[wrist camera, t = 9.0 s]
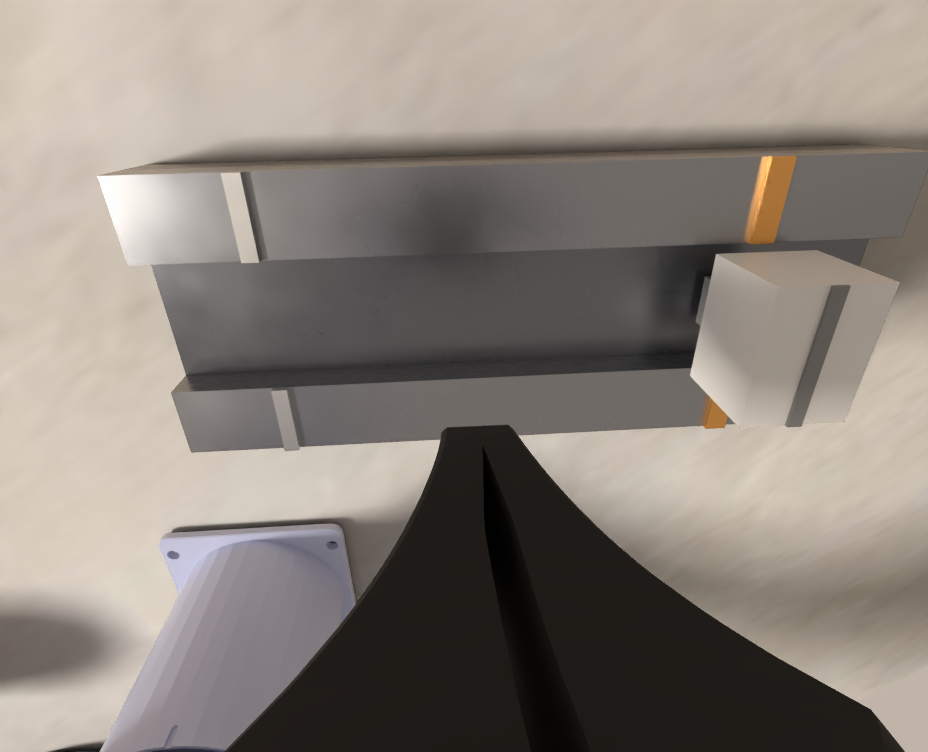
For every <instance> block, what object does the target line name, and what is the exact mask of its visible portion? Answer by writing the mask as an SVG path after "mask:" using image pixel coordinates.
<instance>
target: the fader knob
mask: <svg viewBox="0 0 928 752" xmlns="http://www.w3.org/2000/svg"><path fill="white" fill-rule="evenodd" d="M899 284H900V282H898V281H895V280H893V279H890V278H888V277H885V276H882V275H880V274H877V273H875V272H872V271H869V270H867V269H864V268H862V267H859V266H857V265H854V264H851V263H849V262H846V261H844V260H841V259H838V258H836V257H833V256H831V255H828V254H826V253H823V252H820V251H818V250H806V251H779V252H753V253H726V254H716V257H715V262H714V266H713V271H712V275H711V276H705V279H704V284H703V289H702V294H701V298H700V303H699V308H698V313H697V317H696V323H698V324H699V325H700V331H699V336H698V340H697V345H696V350H695V354H694V359H693V364H692V368H691V373H690V376H691V377H692V379H693V380H694V381H695V382H696V383H697V384H698V385H699V386H700V387H701V388H702V389H703V390H704V391H705V392H706V393H707V394H708V395H709V396H710V398H711V399H712V400H713V401H714V402H715V403H716V404H717V405H718V406H719V407H720V408H721V409H722V410H723V411H724V412H725V413H726V414H727V415H728V417H729V418H730V419H731V420H732V421H733V422H734V423H735V424H736V425H737V426H738V427H739V428H741V427H760V426H778V425H785V426H786V427H800V426H802V424H816V423H835V422H845V420H846V417H847V415H848V412H849V410H850V407H851V405H852V402H853V400H854V397H855V395H856V392H857V390H858V387H859V384H860V382H861V379H862V377H863V374H864V372H865V369H866V367H867V364H868V362H869V359H870V357H871V354H872V352H873V349H874V347H875V344H876V342H877V339H878V337H879V334H880V332H881V329H882V327H883V324H884V322H885V319H886V317H887V314H888V312H889V309H890V307H891V304H892V302H893V299H894V297H895V294H896V292H897V289H898V287H899Z"/></svg>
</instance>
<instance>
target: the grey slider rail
mask: <svg viewBox="0 0 928 752" xmlns="http://www.w3.org/2000/svg"><path fill="white" fill-rule="evenodd" d="M927 171H928V151H925V150H916V149H906V148H896V147H886V146H876V145H867V144H853V145H818V146H783V147H747V148H712V149H677V150H641V151H606V152H571V153H535V154H500V155H465V156H429V157H394V158H359V159H323V160H288V161H253V162H217V163H182V164H147V165H143V166H138V167H134V168H129V169H125V170H121V171H116V172H112V173H108V174H103V175H99V176H97V177H98V180H99V182H100V185H101V188H102V191H103V194H104V197H105V200H106V203H107V206H108V209H109V212H110V215H111V218H112V221H113V224H114V227H115V230H116V232H117V235H118V238H119V241H120V244H121V247H122V250H123V253H124V256H125V259H126V262H127V265H128V266H130V265H152V269H153V272H154V275H155V278H156V281H157V284H158V287H159V291H160V294H161V297H162V300H163V303H164V306H165V310H166V313H167V316H168V319H169V322H170V325H171V328H172V332H173V335H174V338H175V341H176V344H177V347H178V351H179V354H180V357H181V360H182V363H183V366H184V369H185V373H186V376H185V377H184V378H183V380H182V381H181V382H180V383H179V384H178V385H177V386H176V388H175V389H174V390H173V391H172V392H171V394H172V397H173V400H174V403H175V406H176V409H177V412H178V415H179V418H180V421H181V424H182V427H183V430H184V433H185V436H186V438H187V441H188V444H189V447H190V450H191V453H192V452H211V451H230V450H249V449H268V448H284V449H285V451H294V450H300V447H306V446H325V445H344V444H363V443H382V442H401V441H420V440H439V439H441V432H442V431H443V430H444V429H445V428H447V427H465V426H487V425H509V426H511V427H512V428H513V429H514V431H515V432H516V434H517V435H534V434H553V433H572V432H591V431H610V430H629V429H648V428H667V427H686V426H704V427H705V429H710V428H725V425H726V424H735V423H734V422H733V421H732V420H731V419H730V418H729V417H728V415H727V414H726V413H725V412H724V411H723V410H722V409H721V408H720V407H719V406H718V405H717V404H716V403H715V402H714V401H713V400H712V399H711V398H710V396H709V395H708V394H707V393H706V392H705V391H704V390H703V389H702V388H701V387H700V386H699V385H698V384H697V383H696V382H695V381H694V380H693V379H692V377H691V376H690V373H691V368H692V364H693V359H694V354H695V350H696V345H697V340H698V336H699V331H700V325H699V324H698V323H696V317H697V313H698V308H699V303H700V298H701V294H702V289H703V284H704V279H705V276H711V275H712V271H713V266H714V262H715V257H716V254H726V253H753V252H779V251H806V250H818V251H820V252H823V253H826V254H828V255H831V256H833V257H836V258H838V259H841V260H844V261H846V262H849V263H851V264H854V265H857V266H859V264H860V262H861V259H862V256H863V253H864V250H865V248H866V245H867V242H868V239H869V238H893V237H902V236H903V234H904V231H905V229H906V226H907V223H908V221H909V218H910V216H911V213H912V210H913V208H914V205H915V203H916V200H917V197H918V195H919V192H920V190H921V187H922V184H923V182H924V179H925V177H926V174H927Z"/></svg>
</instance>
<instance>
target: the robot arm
mask: <svg viewBox="0 0 928 752" xmlns="http://www.w3.org/2000/svg"><path fill="white" fill-rule="evenodd" d="M330 541H334V542H336V543H331V542H330ZM159 548H160V551H161V553H162V555H163V558H164V560H165V563H166V565H167V567H168V570H169V572H170V574H171V577H172V579H173V581H174V584H175V586H176V589H177V591H178V593H179V595H178V597H177V599H176V601H175V603H174V605H173V607H172V609H171V611H170V613H169V615H168V617H167V619H166V621H165V623H164V625H163V627H162V629H161V631H160V633H159V635H158V637H157V639H156V641H155V643H154V645H153V647H152V649H151V651H150V653H149V655H148V657H147V659H146V661H145V663H144V665H143V667H142V669H141V671H140V673H139V675H138V677H137V679H136V681H135V683H134V685H133V687H132V689H131V691H130V693H129V695H128V697H127V698H126V700H125V702H124V704H123V706H122V708H121V710H120V712H119V714H118V716H117V718H116V720H115V722H114V724H113V726H112V728H111V730H110V732H109V734H108V736H107V738H106V740H105V742H104V744H103V746H102V748H101V750H100V752H904V750H903V749H902V747H901V746H900V745H899V744H898V742H897V741H896V740H895V739H894V737H893V736H892V735H891V734H890V733H889V731H888V730H887V729H886V728H885V726H884V725H883V724H882V723H881V722H880V720H879V719H878V718H877V717H876V716H875V714H874V713H873V712H872V710H871V709H869V708H867V707H865V706H863V705H862V704H860V703H858V702H856V701H854V700H853V699H851V698H849V697H847V696H845V695H844V694H842V693H840V692H838V691H836V690H835V689H833V688H831V687H829V686H827V685H825V684H824V683H822V682H820V681H818V680H816V679H815V678H813V677H811V676H809V675H807V674H806V673H804V672H802V671H800V670H798V669H797V668H795V667H793V666H791V665H789V664H788V663H786V662H784V661H782V660H780V659H779V658H777V657H775V656H774V655H772V654H770V653H768V652H767V651H765V650H764V649H762V648H760V647H759V646H757V645H756V644H754V643H752V642H751V641H749V640H748V639H746V638H744V637H743V636H741V635H740V634H738V633H736V632H735V631H733V630H732V629H730V628H728V627H727V626H725V625H724V624H722V623H721V622H719V621H718V620H716V619H715V618H713V617H712V616H710V615H709V614H707V613H706V612H704V611H703V610H701V609H700V608H698V607H697V606H695V605H694V604H693V603H691V602H690V601H689V600H687V599H686V598H684V597H683V596H682V595H680V594H679V593H677V592H676V591H675V590H673V589H672V588H670V587H669V586H668V585H666V584H665V583H664V582H662V581H661V580H659V579H658V578H657V577H655V576H654V575H653V574H651V573H650V572H649V571H648V570H646V569H645V568H644V567H642V566H641V565H640V564H639V563H637V562H636V561H635V560H634V559H633V558H632V557H630V556H629V555H628V554H627V553H626V552H625V551H623V550H622V549H621V548H620V547H619V546H618V545H616V544H615V543H614V542H613V541H612V540H611V539H610V538H609V537H608V536H606V535H605V534H604V533H603V532H602V531H601V530H600V529H599V528H598V527H597V526H596V525H595V524H594V523H593V522H592V521H591V520H590V519H589V518H588V517H587V516H586V515H585V514H584V513H583V512H582V511H581V510H580V509H579V508H578V507H577V506H576V505H575V504H574V503H573V502H572V501H571V500H570V499H569V498H568V496H567V495H566V494H565V493H564V492H563V491H562V490H561V489H560V487H559V486H558V485H557V484H556V483H555V482H554V481H553V480H552V478H551V477H550V476H549V475H548V474H547V473H546V471H545V470H544V469H543V468H542V467H541V465H540V464H539V463H538V462H537V460H536V459H535V458H534V457H533V455H532V454H531V453H530V451H529V450H528V449H527V447H526V446H525V445H524V443H523V442H522V441H521V439H520V438H519V436H518V435H517V434H516V432H515V431H514V429H513V428H512V427H511V426H509V425H487V426H465V427H447V428H445V429H444V430H443V431H442V432H441V440H440V445H439V450H438V453H437V457H436V460H435V463H434V465H433V468H432V471H431V474H430V476H429V478H428V481H427V483H426V486H425V488H424V490H423V493H422V495H421V497H420V500H419V502H418V504H417V506H416V508H415V509H414V511H413V513H412V515H411V517H410V519H409V521H408V523H407V525H406V527H405V529H404V531H403V533H402V534H401V536H400V538H399V540H398V541H397V543H396V545H395V547H394V548H393V550H392V551H391V553H390V555H389V556H388V558H387V559H386V561H385V563H384V564H383V566H382V567H381V569H380V570H379V572H378V573H377V575H376V576H375V578H374V579H373V581H372V582H371V584H370V585H369V586H368V588H367V589H366V591H365V592H364V593H363V595H362V596H361V598H360V599H359V600H358V602H357V603H356V600H355V594H354V589H353V583H352V578H351V572H350V567H349V561H348V556H347V550H346V545H345V539H344V534H343V530H342V528H341V527H340V526H339V525H336V524H331V523H329V524H313V525H296V526H279V527H262V528H245V529H228V530H211V531H194V532H177V533H168V534H165V535H164V536H163V537H162V538H161V540H160V542H159ZM174 551H175V552H174Z"/></svg>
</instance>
